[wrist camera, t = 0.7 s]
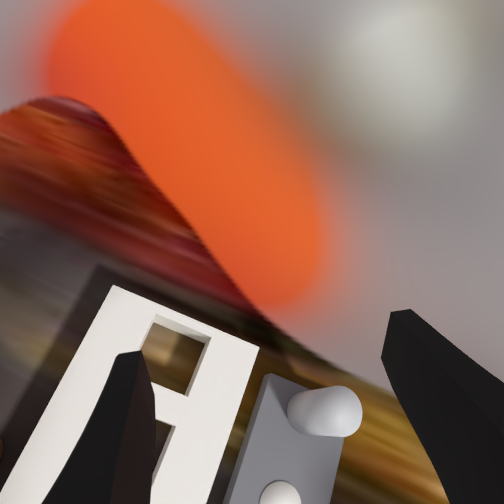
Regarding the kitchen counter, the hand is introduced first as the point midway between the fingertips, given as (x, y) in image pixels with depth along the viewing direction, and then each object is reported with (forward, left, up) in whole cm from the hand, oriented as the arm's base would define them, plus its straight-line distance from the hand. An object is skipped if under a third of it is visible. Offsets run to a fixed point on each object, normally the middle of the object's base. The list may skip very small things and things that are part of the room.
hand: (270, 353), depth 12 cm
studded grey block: (-4, -7, -17) cm, 19 cm away
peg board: (-4, +2, -17) cm, 17 cm away
